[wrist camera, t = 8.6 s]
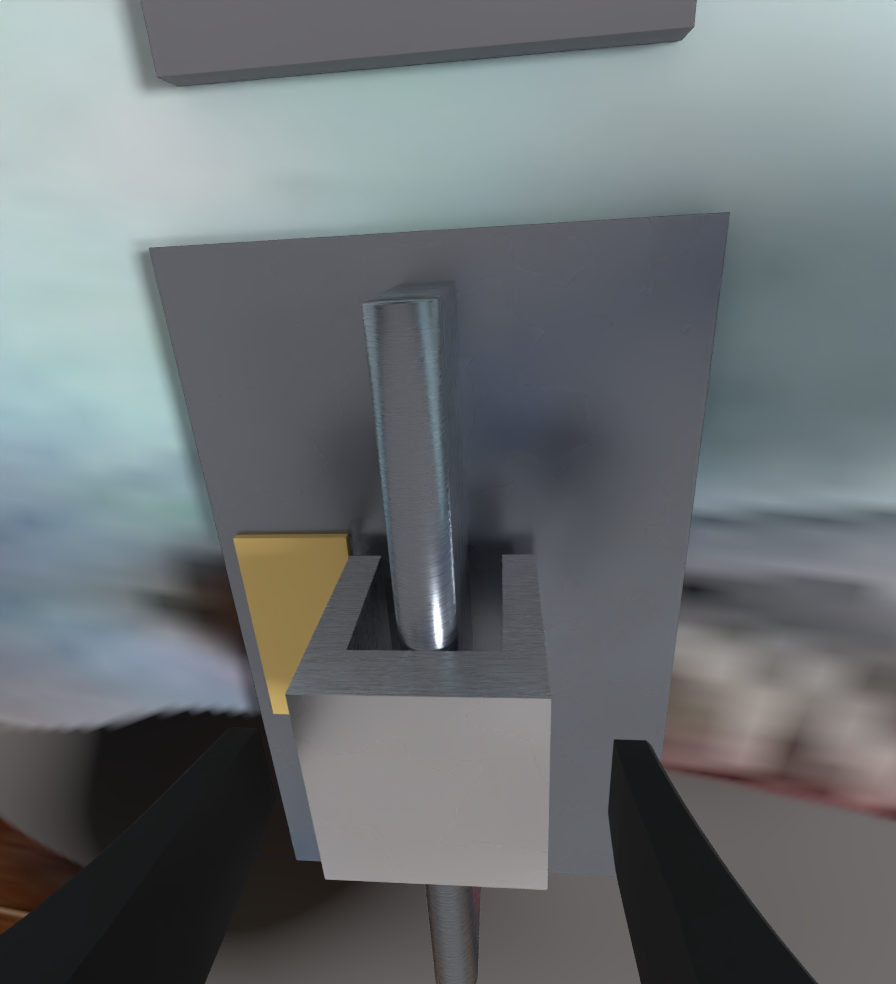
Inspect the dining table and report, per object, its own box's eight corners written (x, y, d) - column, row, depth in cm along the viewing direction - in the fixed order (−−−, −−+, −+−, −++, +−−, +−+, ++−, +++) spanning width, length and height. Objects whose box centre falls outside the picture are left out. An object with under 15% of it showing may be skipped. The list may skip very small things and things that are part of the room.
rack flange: (716, 213, 12) (845, 201, 7) (640, 855, 20) (680, 1037, 16) (168, 247, 13) (-8, 254, 9) (303, 838, 21) (249, 1002, 17)
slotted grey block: (535, 554, 14) (550, 698, 10) (534, 711, 16) (547, 889, 12) (349, 555, 15) (285, 694, 10) (371, 708, 17) (325, 879, 12)
